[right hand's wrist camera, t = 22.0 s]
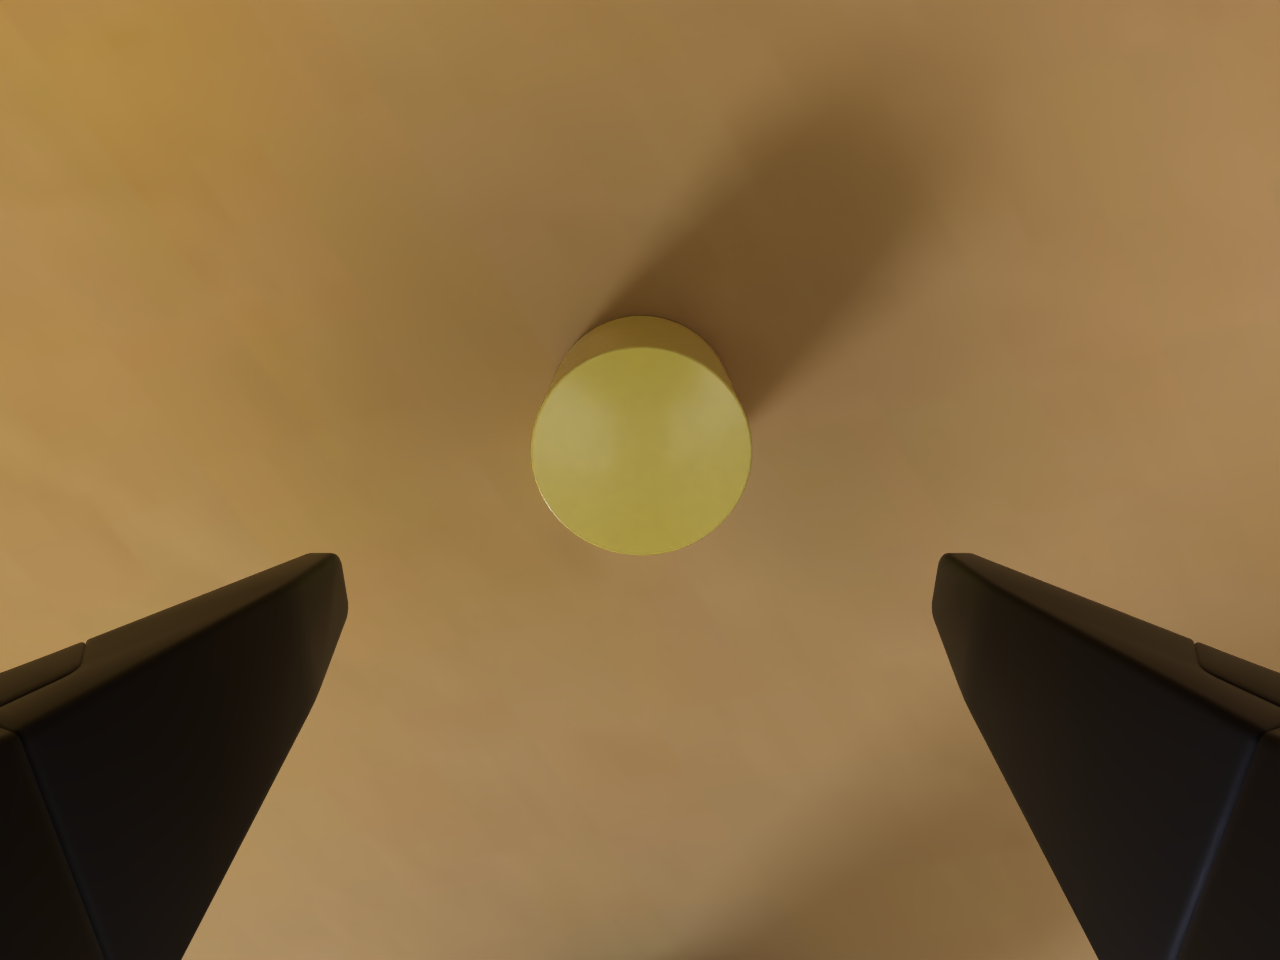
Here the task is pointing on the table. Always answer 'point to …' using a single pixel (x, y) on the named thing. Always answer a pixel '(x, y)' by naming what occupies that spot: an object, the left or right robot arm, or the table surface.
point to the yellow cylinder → (641, 438)
